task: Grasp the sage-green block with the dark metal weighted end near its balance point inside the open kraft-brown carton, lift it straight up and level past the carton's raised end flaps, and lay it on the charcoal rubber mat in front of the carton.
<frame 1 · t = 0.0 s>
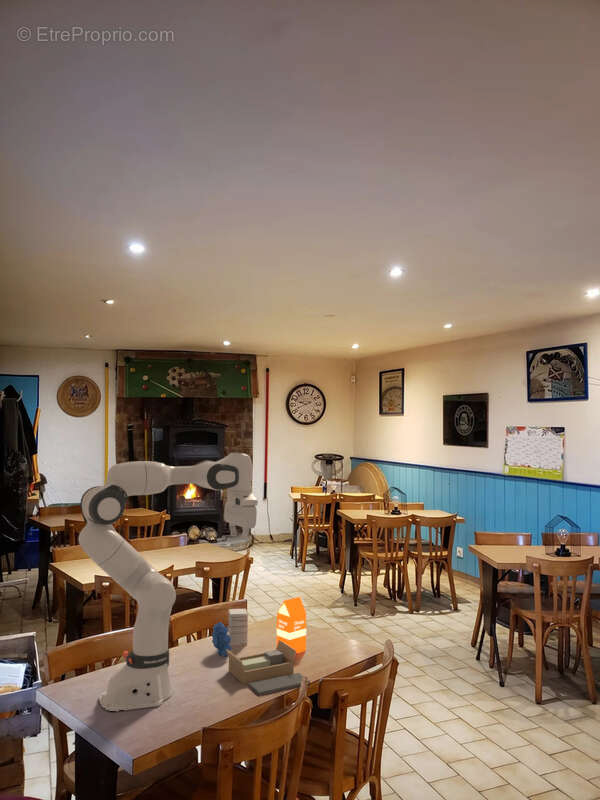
hand: (238, 537, 213), 48 cm above the table, tool pointing down, fingers open, 8 cm apart
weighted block: (261, 663, 215), in the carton
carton: (260, 672, 215), on the table
supplement box: (237, 643, 245), on the table
grapes: (219, 656, 231), on the table
rubber mat: (279, 685, 204), on the table
orange juice: (291, 651, 237), on the table
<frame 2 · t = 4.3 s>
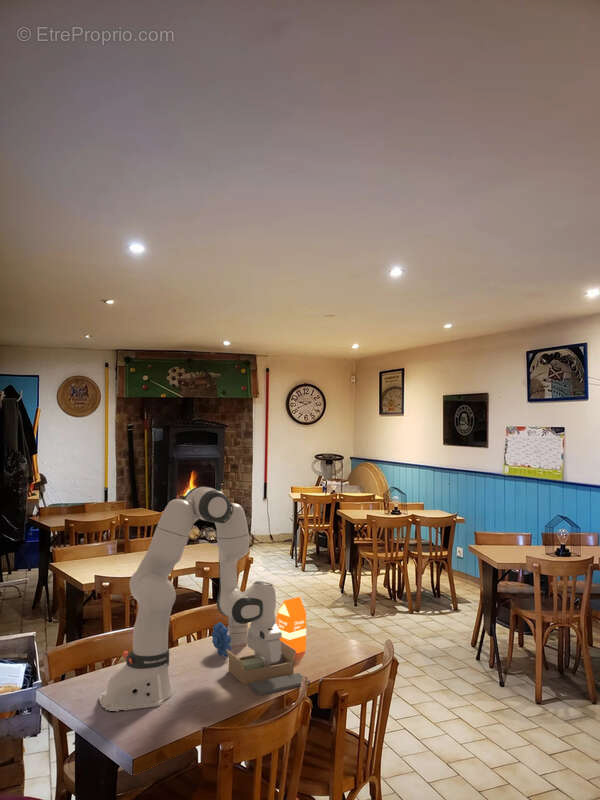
hand: (262, 667, 215), 2 cm above the table, tool pointing down, fingers closed on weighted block, 4 cm apart
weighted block: (261, 663, 215), in the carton, touching gripper
everything else where it was.
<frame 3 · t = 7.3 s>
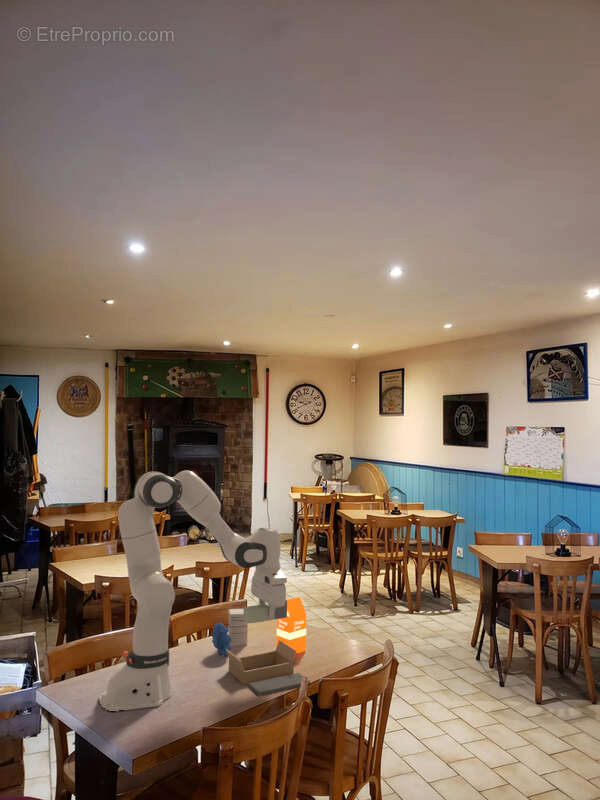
hand: (267, 613, 214), 21 cm above the table, tool pointing down, fingers closed on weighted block, 4 cm apart
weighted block: (265, 610, 214), point 22 cm above the table, touching gripper
everything else where it was.
when the fingers open (4 cm above the table, at t = 10.5 s): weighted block drops 1 cm, resting on rubber mat.
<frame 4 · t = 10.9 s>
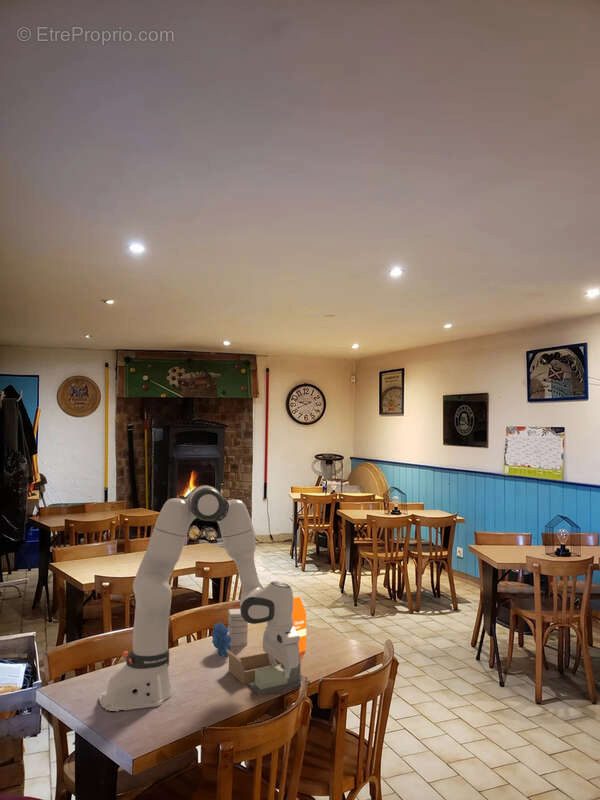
hand: (279, 672, 204), 4 cm above the table, tool pointing down, fingers open, 8 cm apart
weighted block: (277, 673, 204), on the rubber mat, point 4 cm above the table
everything else where it was.
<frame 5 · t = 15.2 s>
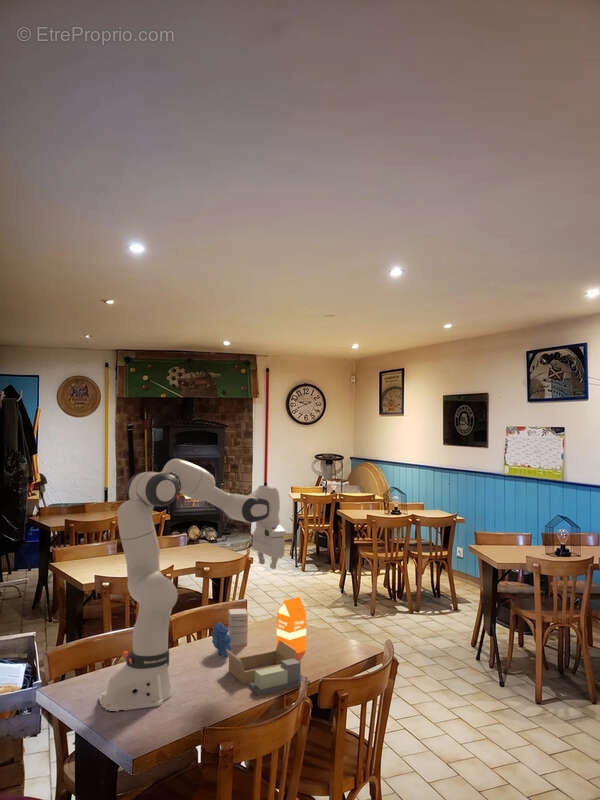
hand: (267, 566, 227), 35 cm above the table, tool pointing down, fingers open, 8 cm apart
nothing on the table moved.
at the end: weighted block 0.7 cm off-centre on the rubber mat, point 4.0 cm above the rubber mat's base; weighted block tilted 0°; the gripper is holding nothing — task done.
